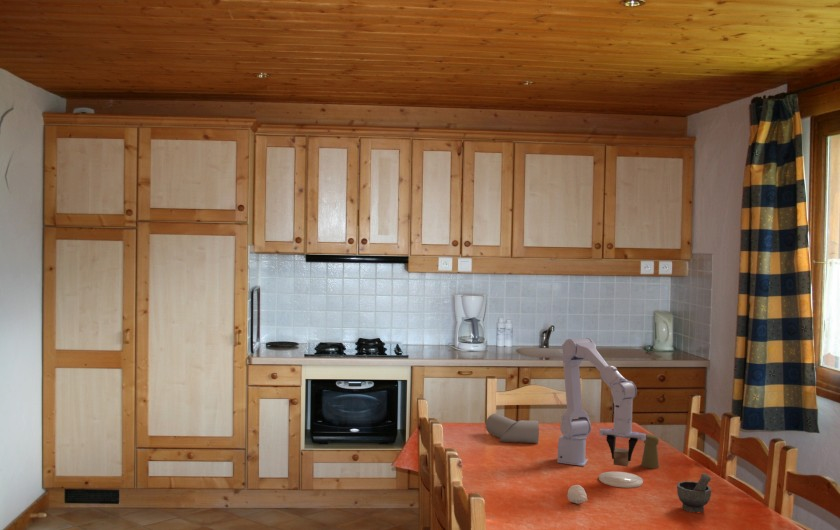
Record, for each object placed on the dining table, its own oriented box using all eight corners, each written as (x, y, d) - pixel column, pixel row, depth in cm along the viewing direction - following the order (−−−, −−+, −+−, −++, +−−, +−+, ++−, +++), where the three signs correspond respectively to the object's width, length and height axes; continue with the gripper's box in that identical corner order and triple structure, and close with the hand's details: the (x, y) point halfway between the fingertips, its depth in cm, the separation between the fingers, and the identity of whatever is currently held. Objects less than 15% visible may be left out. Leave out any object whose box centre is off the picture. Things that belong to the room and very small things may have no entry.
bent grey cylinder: (486, 441, 296) (539, 443, 295) (486, 413, 298) (539, 415, 296) (484, 439, 313) (534, 441, 312) (485, 413, 315) (535, 415, 314)
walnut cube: (613, 464, 255) (613, 451, 254) (615, 461, 259) (616, 447, 259) (627, 466, 253) (628, 452, 253) (629, 463, 257) (629, 449, 257)
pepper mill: (659, 469, 270) (661, 437, 269) (641, 467, 271) (643, 436, 271) (658, 464, 276) (659, 433, 275) (640, 462, 277) (641, 432, 277)
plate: (595, 483, 252) (595, 480, 252) (602, 471, 265) (602, 468, 265) (639, 490, 247) (640, 486, 247) (645, 477, 260) (645, 474, 260)
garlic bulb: (577, 509, 228) (578, 490, 228) (565, 502, 234) (566, 484, 234) (592, 507, 231) (593, 488, 230) (580, 500, 236) (581, 482, 236)
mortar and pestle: (669, 505, 234) (670, 465, 233) (695, 502, 237) (696, 463, 236) (693, 518, 223) (695, 477, 223) (720, 515, 226) (722, 474, 226)
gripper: (598, 418, 254) (597, 459, 255) (644, 423, 249) (642, 465, 249) (602, 414, 261) (600, 454, 261) (646, 418, 255) (645, 459, 256)
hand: (621, 459), depth 256 cm, fingers closed on walnut cube, 4 cm apart
